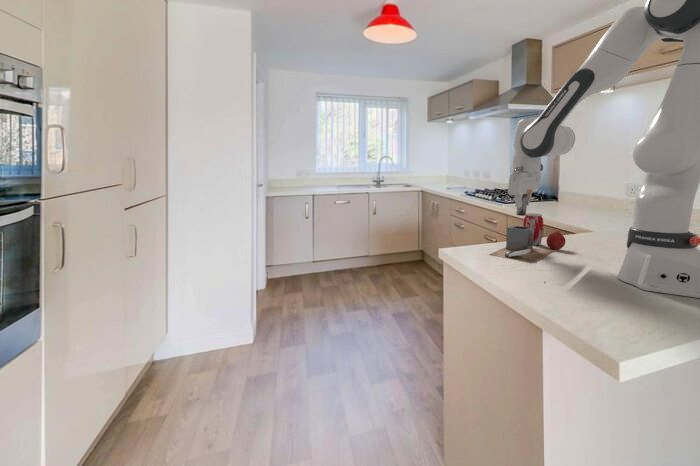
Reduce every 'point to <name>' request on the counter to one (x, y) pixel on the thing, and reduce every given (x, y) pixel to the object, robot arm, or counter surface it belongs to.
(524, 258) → the board
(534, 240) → the soda can
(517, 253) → the keeper
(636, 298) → the counter surface
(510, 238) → the socket
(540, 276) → the counter surface
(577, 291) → the counter surface
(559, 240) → the onion
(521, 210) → the pin
